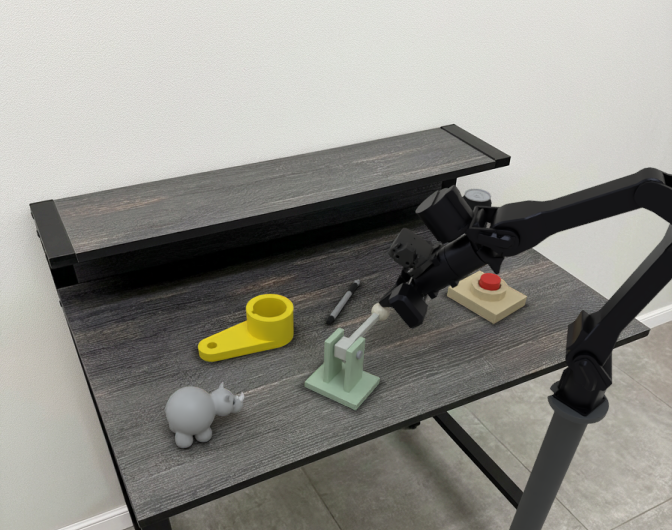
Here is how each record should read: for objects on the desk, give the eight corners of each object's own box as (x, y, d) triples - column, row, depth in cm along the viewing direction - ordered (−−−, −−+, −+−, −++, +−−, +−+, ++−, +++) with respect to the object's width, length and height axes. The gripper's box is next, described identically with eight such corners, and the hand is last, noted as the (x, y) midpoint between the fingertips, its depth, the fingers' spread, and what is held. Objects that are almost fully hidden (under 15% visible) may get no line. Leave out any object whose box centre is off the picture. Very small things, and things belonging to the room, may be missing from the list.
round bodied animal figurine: (253, 434, 97) (250, 394, 91) (175, 456, 93) (168, 416, 87) (239, 404, 101) (236, 364, 96) (165, 423, 98) (157, 383, 92)
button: (503, 286, 124) (505, 279, 123) (490, 293, 122) (492, 286, 121) (487, 278, 126) (489, 270, 125) (474, 284, 124) (476, 277, 123)
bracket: (329, 361, 110) (331, 316, 104) (379, 383, 107) (384, 338, 100) (304, 387, 105) (304, 341, 99) (355, 410, 101) (359, 365, 95)
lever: (376, 311, 111) (377, 296, 109) (392, 317, 110) (393, 302, 108) (331, 357, 101) (331, 341, 99) (348, 364, 100) (349, 349, 98)
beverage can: (450, 246, 142) (459, 197, 134) (457, 233, 146) (466, 185, 138) (479, 253, 140) (489, 203, 132) (485, 239, 145) (495, 191, 137)
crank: (280, 315, 120) (280, 289, 116) (301, 339, 114) (301, 313, 111) (191, 343, 112) (187, 316, 108) (209, 370, 107) (206, 343, 103)
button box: (524, 305, 125) (529, 288, 123) (493, 324, 120) (498, 307, 118) (477, 279, 132) (481, 262, 129) (446, 296, 127) (449, 279, 124)
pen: (325, 324, 118) (325, 319, 117) (356, 280, 130) (356, 275, 129) (331, 326, 118) (331, 320, 117) (362, 282, 129) (362, 276, 129)
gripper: (436, 195, 101) (366, 241, 111) (409, 250, 88) (332, 298, 98) (476, 247, 105) (404, 288, 114) (455, 308, 91) (377, 349, 101)
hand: (380, 303), depth 107 cm, fingers closed
